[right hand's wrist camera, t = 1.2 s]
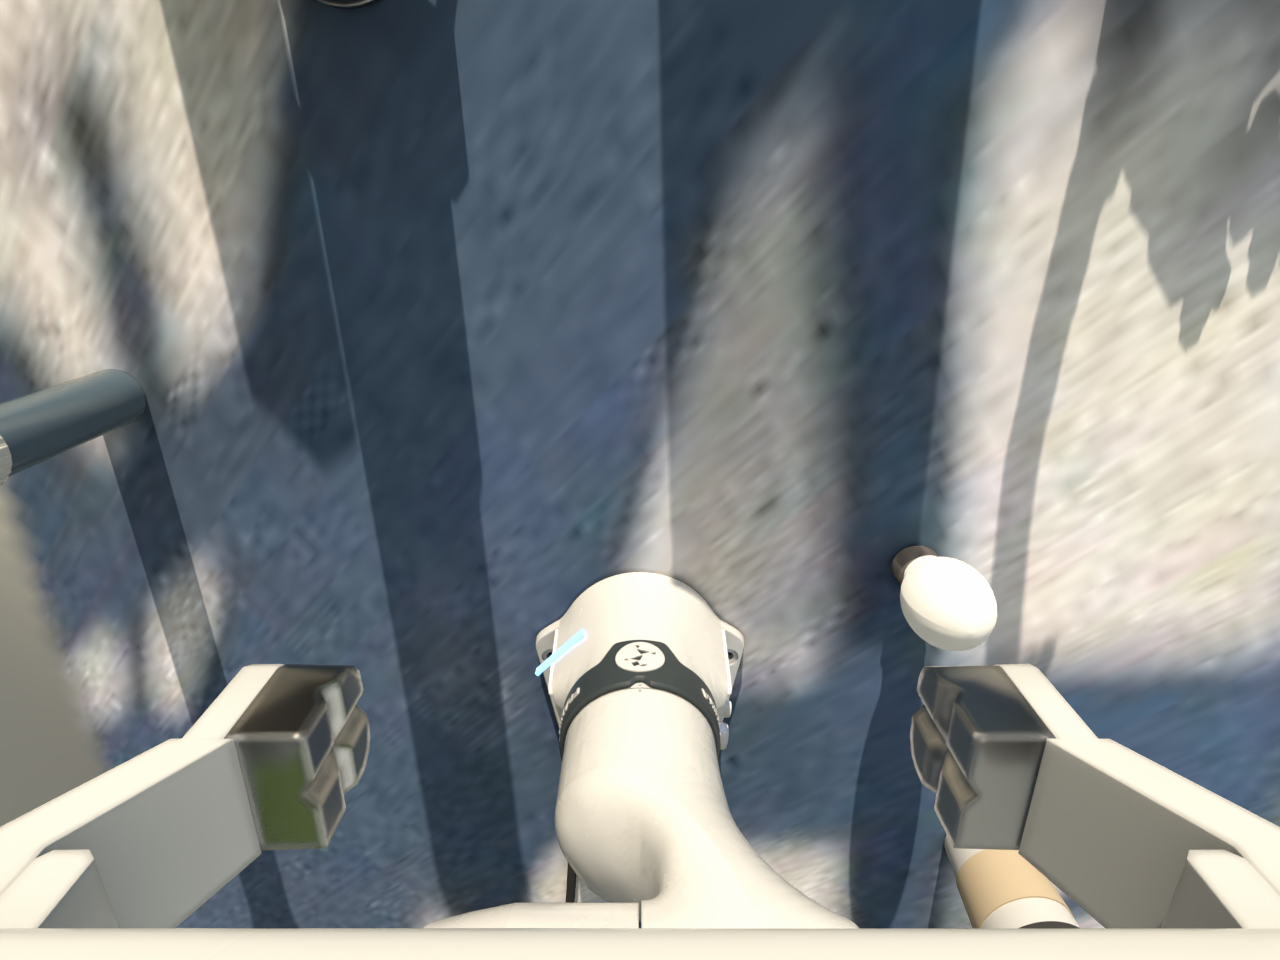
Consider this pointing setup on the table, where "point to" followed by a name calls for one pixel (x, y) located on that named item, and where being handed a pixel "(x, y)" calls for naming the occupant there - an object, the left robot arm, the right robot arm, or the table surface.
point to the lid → (4, 461)
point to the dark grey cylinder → (68, 415)
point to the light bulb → (944, 599)
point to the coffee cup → (1006, 891)
